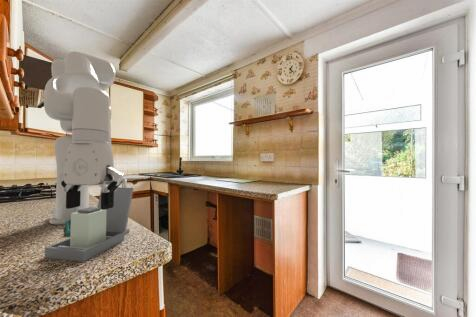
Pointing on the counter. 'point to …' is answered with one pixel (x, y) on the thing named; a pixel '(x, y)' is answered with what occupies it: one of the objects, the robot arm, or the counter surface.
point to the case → (82, 254)
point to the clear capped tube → (124, 185)
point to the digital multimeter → (68, 227)
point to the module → (88, 227)
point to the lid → (118, 210)
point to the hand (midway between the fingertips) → (90, 208)
